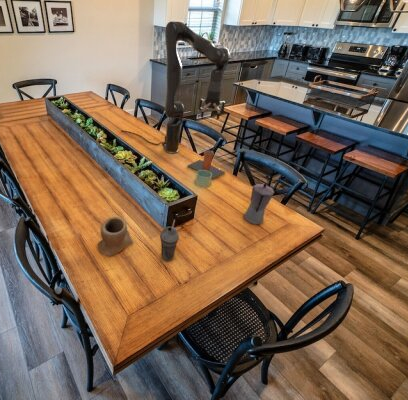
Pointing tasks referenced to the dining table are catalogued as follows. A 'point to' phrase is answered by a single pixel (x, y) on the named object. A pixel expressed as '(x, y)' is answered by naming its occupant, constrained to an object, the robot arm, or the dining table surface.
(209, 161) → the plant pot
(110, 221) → the stone cup
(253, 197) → the moka pot
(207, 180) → the cup
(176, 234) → the beverage cup
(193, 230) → the dining table surface
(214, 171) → the slate board
